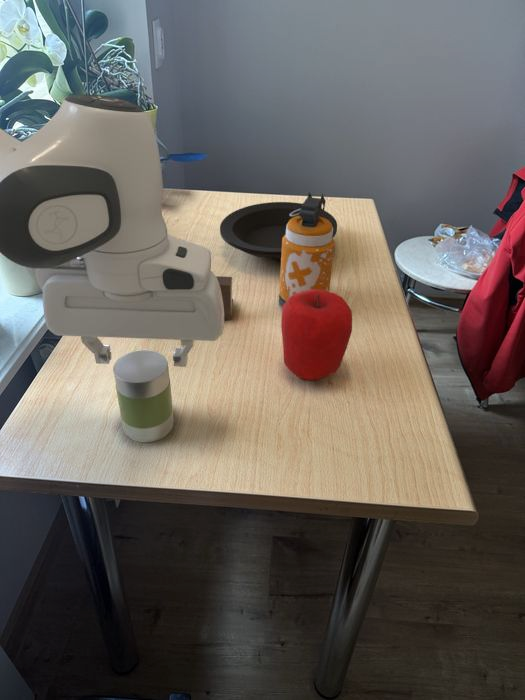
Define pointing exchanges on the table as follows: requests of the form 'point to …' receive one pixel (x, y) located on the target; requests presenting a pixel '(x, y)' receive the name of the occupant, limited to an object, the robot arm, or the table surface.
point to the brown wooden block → (226, 295)
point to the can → (144, 395)
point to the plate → (262, 227)
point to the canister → (306, 251)
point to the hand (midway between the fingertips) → (142, 362)
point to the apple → (315, 333)
